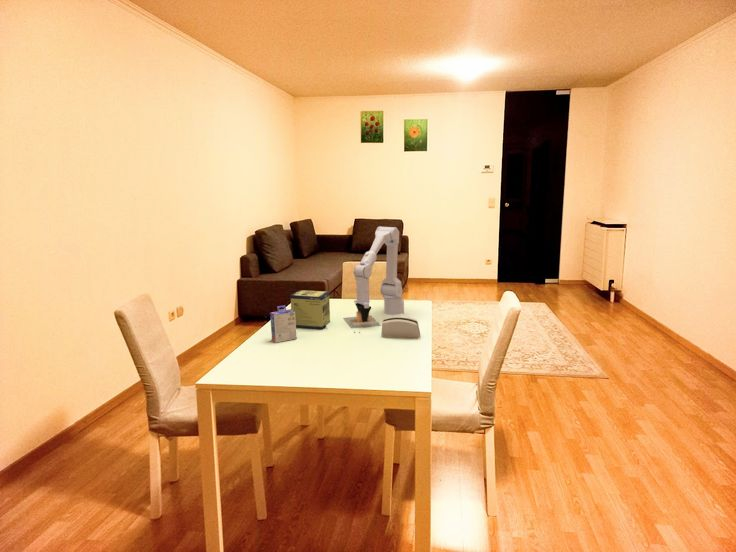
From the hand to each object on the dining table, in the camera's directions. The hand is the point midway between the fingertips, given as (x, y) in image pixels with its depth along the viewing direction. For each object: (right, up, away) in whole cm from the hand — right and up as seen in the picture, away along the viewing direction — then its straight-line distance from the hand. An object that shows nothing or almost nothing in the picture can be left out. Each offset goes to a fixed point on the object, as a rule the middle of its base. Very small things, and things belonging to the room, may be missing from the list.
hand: (363, 319), depth 236 cm
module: (0, -1, 0) cm, 1 cm away
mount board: (-1, -2, +4) cm, 5 cm away
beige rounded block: (+16, -6, -15) cm, 23 cm away
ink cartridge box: (-34, -7, -17) cm, 38 cm away
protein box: (-24, -3, +3) cm, 25 cm away
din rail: (0, -3, +1) cm, 3 cm away
